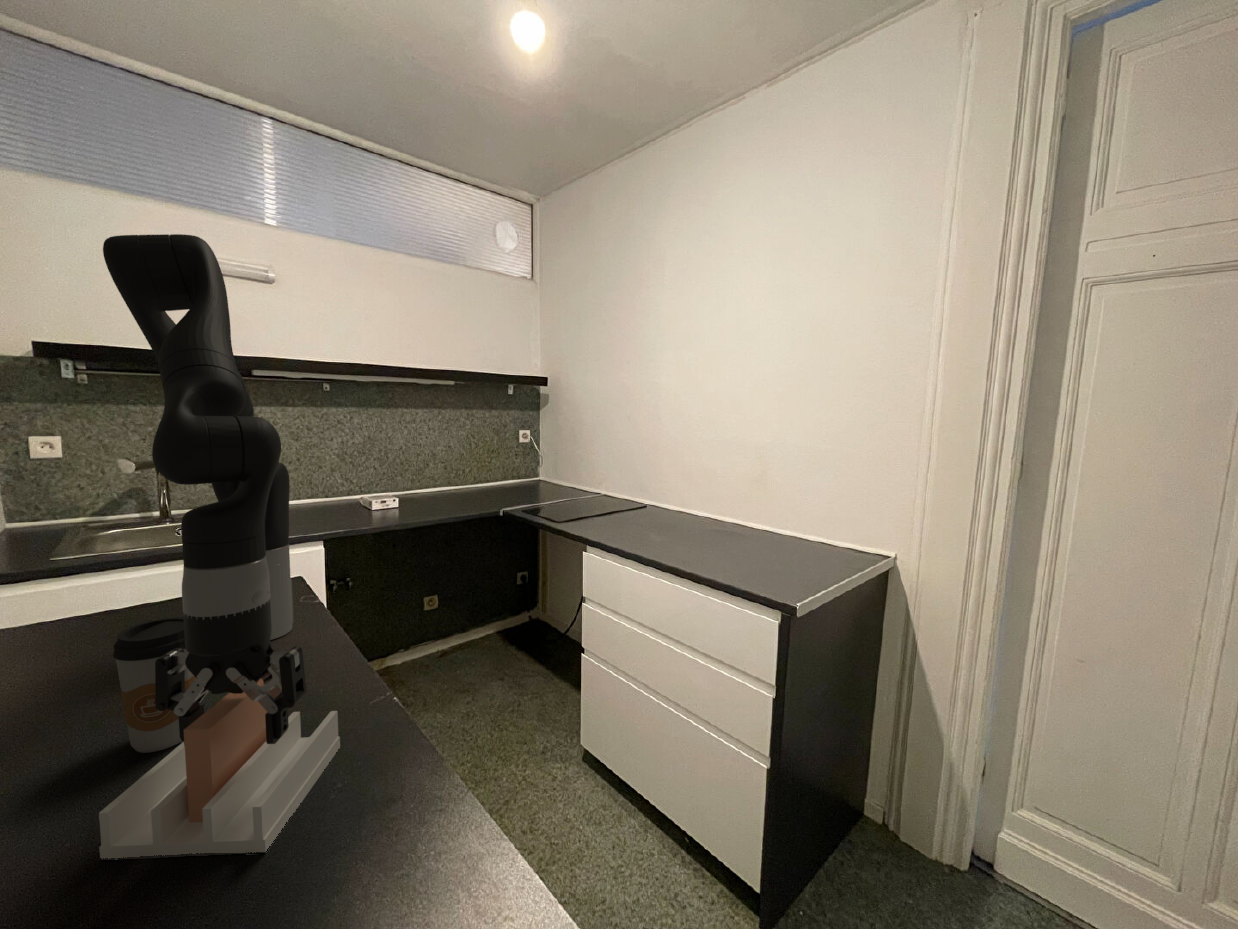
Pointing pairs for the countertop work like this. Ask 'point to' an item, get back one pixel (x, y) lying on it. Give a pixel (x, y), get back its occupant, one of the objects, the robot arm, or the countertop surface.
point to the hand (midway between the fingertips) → (235, 741)
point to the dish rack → (219, 800)
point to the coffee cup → (148, 681)
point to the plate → (221, 747)
